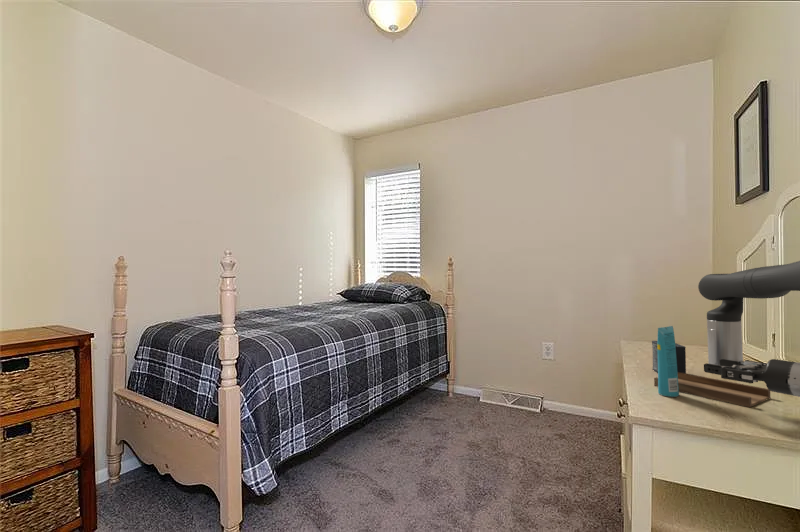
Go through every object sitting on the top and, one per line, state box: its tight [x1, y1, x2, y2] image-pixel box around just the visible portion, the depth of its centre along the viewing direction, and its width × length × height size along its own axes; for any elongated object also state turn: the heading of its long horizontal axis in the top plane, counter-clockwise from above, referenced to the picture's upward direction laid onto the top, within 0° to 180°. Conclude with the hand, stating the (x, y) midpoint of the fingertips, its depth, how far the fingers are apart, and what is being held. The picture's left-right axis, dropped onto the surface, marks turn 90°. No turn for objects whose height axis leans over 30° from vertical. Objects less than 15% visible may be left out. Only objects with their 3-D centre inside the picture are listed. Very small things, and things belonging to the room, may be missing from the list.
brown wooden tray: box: [653, 372, 772, 408], centre depth 114 cm, size 13×23×2 cm, turn 29°
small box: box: [651, 340, 687, 374], centre depth 133 cm, size 11×6×10 cm, turn 168°
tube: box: [656, 325, 680, 398], centre depth 112 cm, size 7×5×19 cm, turn 124°
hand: (712, 365), depth 103 cm, fingers open, 8 cm apart
